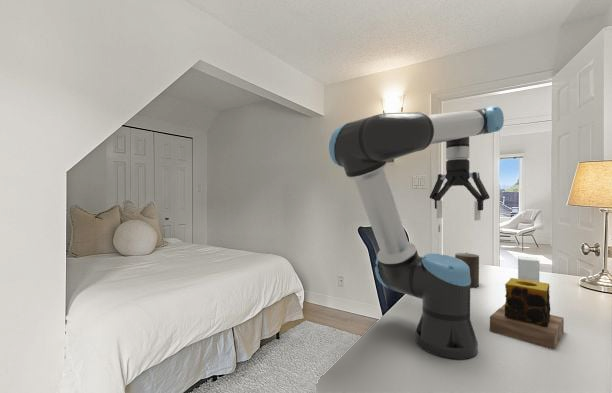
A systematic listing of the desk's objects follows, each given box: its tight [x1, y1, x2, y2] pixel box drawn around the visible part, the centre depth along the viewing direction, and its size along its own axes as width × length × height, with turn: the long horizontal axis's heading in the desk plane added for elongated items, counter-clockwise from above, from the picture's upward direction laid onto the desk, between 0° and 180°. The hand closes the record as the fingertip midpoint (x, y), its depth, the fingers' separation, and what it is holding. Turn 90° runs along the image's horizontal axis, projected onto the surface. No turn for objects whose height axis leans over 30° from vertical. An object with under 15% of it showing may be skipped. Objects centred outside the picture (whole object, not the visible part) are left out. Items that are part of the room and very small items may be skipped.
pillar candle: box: [454, 252, 480, 289], centre depth 137 cm, size 10×10×15 cm
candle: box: [504, 277, 551, 327], centre depth 89 cm, size 10×10×10 cm
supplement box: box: [517, 256, 540, 282], centre depth 135 cm, size 7×7×13 cm
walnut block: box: [489, 303, 565, 350], centre depth 90 cm, size 15×15×5 cm
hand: (457, 219), depth 109 cm, fingers open, 13 cm apart
